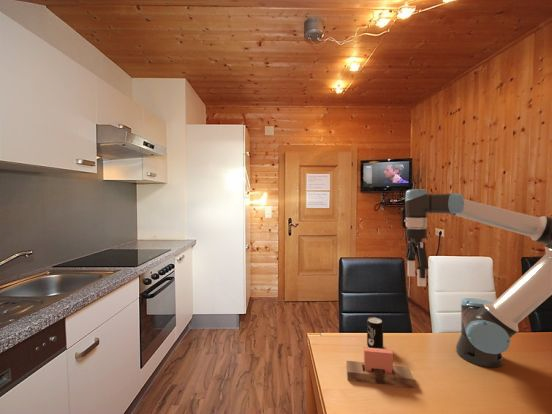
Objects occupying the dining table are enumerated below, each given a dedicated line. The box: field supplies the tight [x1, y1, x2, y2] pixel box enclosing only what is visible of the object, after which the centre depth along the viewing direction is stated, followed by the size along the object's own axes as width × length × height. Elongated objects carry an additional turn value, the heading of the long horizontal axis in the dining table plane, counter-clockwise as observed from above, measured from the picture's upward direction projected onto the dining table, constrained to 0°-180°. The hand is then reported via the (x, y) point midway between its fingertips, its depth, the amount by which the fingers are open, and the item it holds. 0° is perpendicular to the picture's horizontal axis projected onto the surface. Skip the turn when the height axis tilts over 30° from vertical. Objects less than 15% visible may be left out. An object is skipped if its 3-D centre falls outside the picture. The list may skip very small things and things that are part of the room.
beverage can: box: [366, 316, 384, 349], centre depth 118 cm, size 7×7×12 cm
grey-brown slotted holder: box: [346, 360, 415, 388], centre depth 98 cm, size 22×7×3 cm, turn 78°
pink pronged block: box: [363, 346, 394, 374], centre depth 98 cm, size 10×3×10 cm, turn 78°
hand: (416, 280), depth 109 cm, fingers open, 13 cm apart
